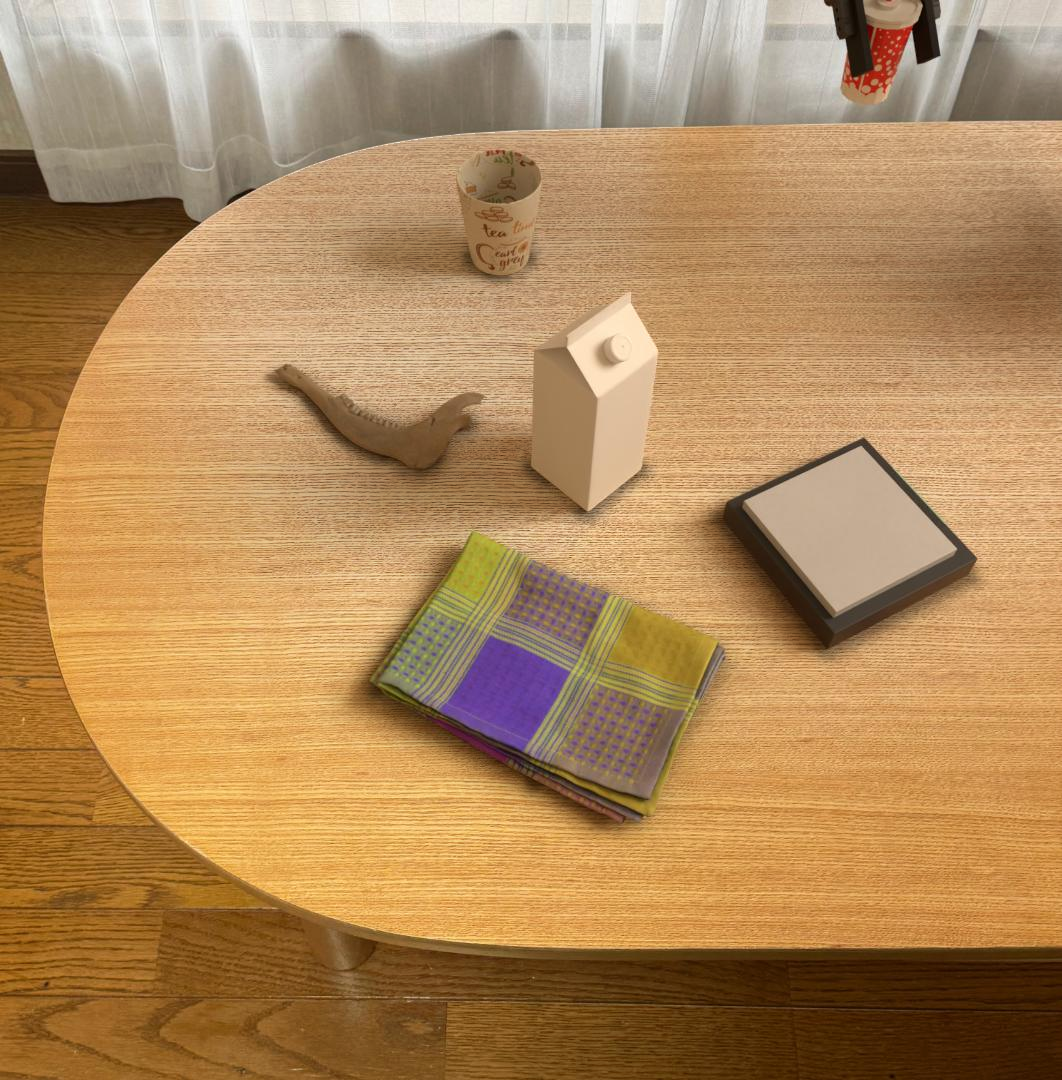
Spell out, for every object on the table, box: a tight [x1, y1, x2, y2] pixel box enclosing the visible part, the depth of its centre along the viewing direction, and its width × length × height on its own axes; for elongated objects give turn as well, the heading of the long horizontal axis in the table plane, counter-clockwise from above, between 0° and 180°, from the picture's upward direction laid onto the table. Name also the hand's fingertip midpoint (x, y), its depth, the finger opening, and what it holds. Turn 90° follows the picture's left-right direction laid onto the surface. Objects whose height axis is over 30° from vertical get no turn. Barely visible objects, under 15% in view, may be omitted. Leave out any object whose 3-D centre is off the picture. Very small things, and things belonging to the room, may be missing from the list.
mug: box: [455, 149, 543, 276], centre depth 118 cm, size 8×13×10 cm, turn 166°
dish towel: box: [368, 530, 727, 825], centre depth 92 cm, size 18×24×3 cm
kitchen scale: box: [721, 437, 979, 650], centre depth 99 cm, size 15×15×4 cm
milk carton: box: [530, 291, 659, 512], centre depth 98 cm, size 7×7×19 cm
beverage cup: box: [840, 0, 923, 106], centre depth 108 cm, size 6×6×14 cm
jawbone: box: [274, 363, 487, 470], centre depth 107 cm, size 9×20×2 cm, turn 78°
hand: (895, 66), depth 107 cm, fingers closed on beverage cup, 6 cm apart
